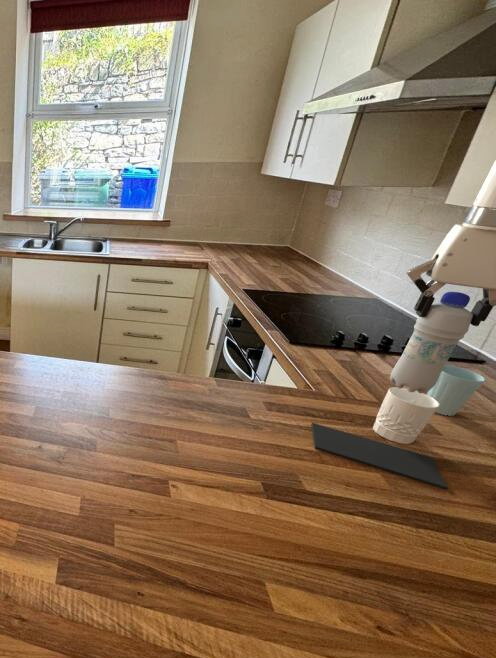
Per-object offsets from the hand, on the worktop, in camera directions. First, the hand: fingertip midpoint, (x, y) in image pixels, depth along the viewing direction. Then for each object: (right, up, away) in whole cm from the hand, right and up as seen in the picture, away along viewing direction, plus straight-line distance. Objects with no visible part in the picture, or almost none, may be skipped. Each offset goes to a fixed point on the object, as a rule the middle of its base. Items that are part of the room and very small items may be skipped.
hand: (445, 318), depth 74 cm
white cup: (+6, -26, +15) cm, 30 cm away
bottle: (0, -14, +6) cm, 15 cm away
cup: (+27, -22, +25) cm, 43 cm away
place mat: (-4, -28, +10) cm, 30 cm away
